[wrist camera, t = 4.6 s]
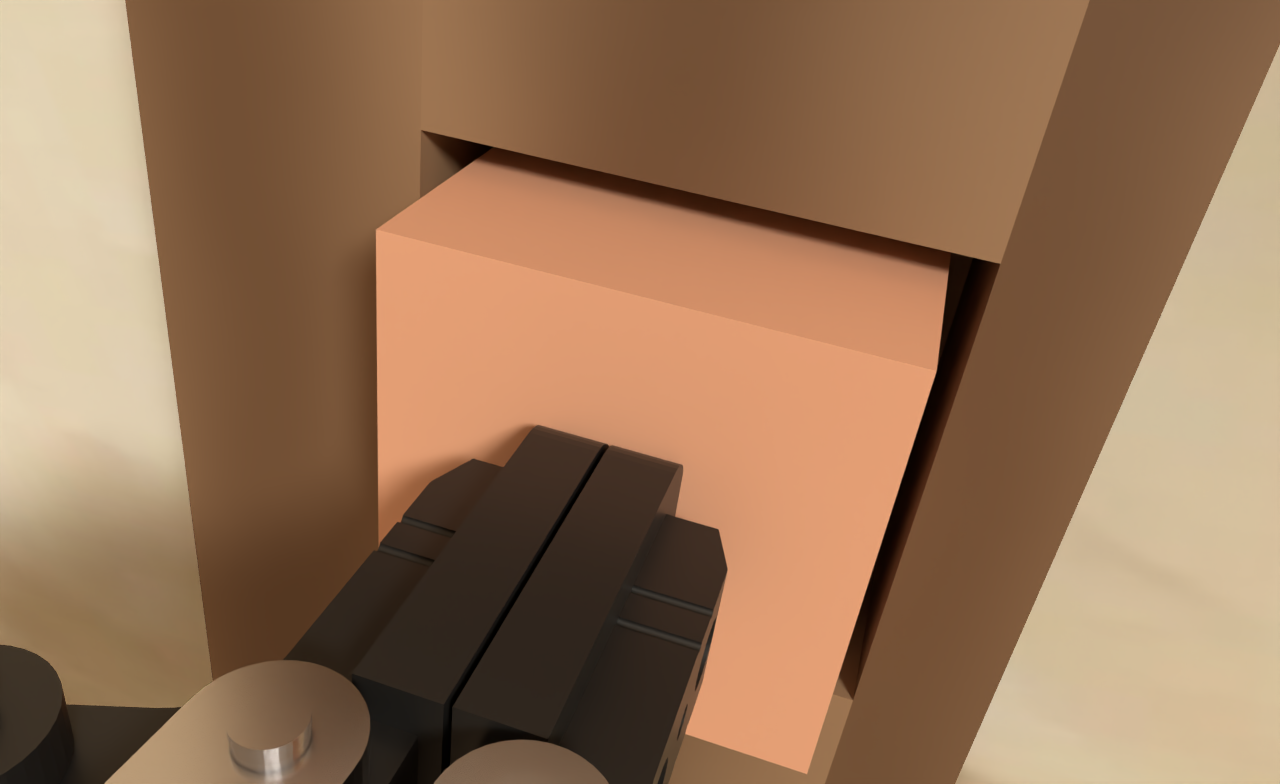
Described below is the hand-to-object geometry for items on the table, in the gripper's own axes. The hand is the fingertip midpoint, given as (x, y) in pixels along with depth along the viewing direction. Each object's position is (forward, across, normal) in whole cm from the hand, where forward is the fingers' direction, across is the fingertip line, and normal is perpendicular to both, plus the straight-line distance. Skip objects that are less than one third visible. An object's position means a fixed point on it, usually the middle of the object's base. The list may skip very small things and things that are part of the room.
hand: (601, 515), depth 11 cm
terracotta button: (+4, 0, 0) cm, 4 cm away
